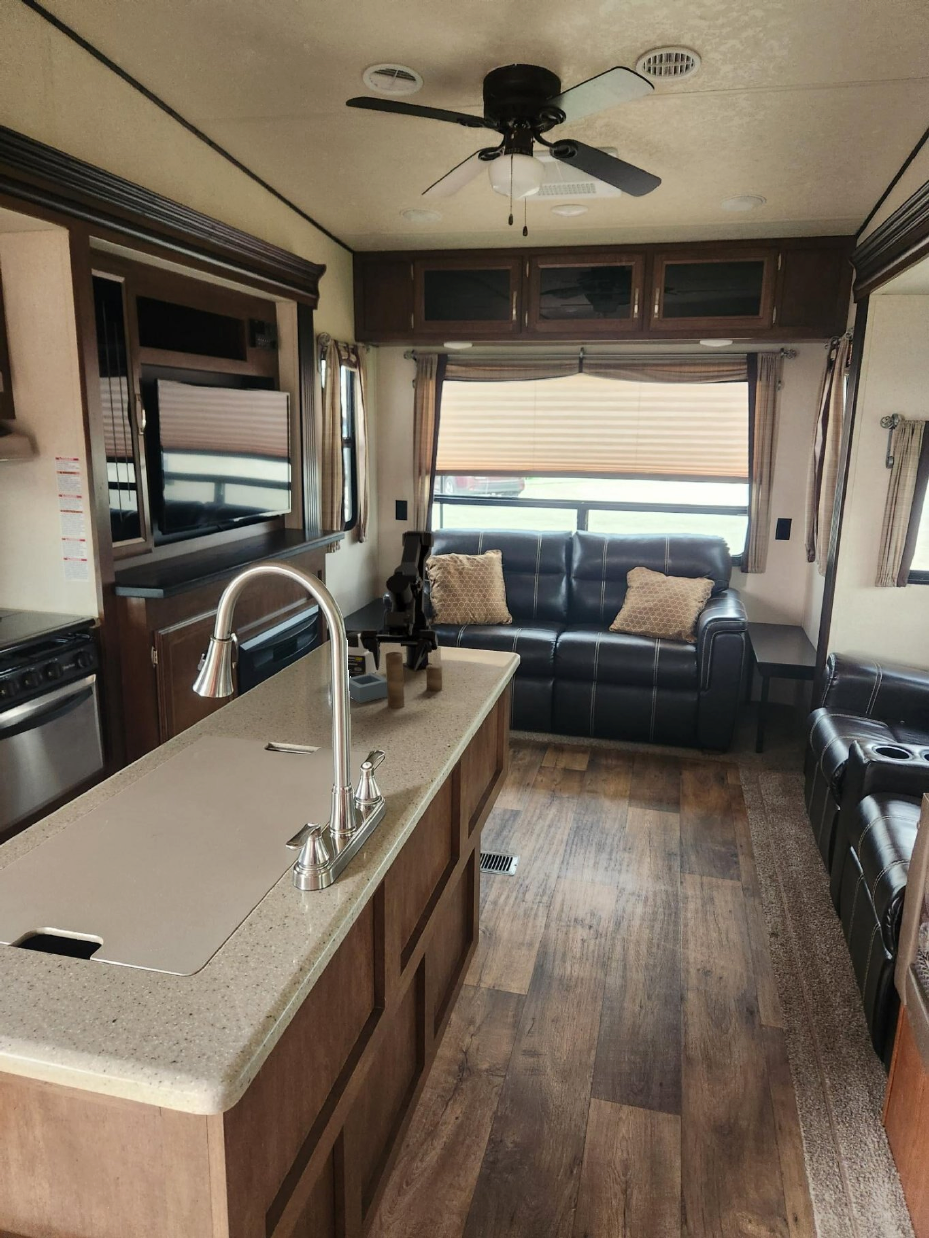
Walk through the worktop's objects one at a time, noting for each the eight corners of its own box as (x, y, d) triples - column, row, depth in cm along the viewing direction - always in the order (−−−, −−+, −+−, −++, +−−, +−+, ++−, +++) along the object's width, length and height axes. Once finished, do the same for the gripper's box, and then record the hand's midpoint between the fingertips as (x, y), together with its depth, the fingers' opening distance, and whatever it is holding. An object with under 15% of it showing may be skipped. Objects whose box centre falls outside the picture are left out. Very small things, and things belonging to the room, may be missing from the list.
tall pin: (384, 705, 203) (382, 654, 200) (398, 701, 205) (396, 651, 202) (393, 709, 200) (391, 657, 197) (407, 705, 202) (405, 654, 199)
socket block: (343, 694, 212) (342, 679, 211) (373, 687, 217) (372, 672, 216) (360, 703, 205) (359, 687, 204) (390, 695, 210) (390, 680, 209)
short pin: (423, 688, 215) (422, 666, 213) (436, 685, 217) (435, 663, 216) (432, 692, 212) (431, 669, 210) (445, 689, 214) (444, 666, 213)
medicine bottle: (342, 678, 225) (339, 635, 222) (352, 670, 232) (350, 629, 229) (366, 680, 223) (364, 636, 220) (376, 672, 230) (374, 630, 227)
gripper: (359, 597, 204) (351, 653, 196) (434, 597, 202) (429, 653, 194) (368, 621, 214) (360, 675, 205) (440, 622, 211) (435, 676, 203)
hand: (395, 669), depth 202 cm, fingers open, 9 cm apart
